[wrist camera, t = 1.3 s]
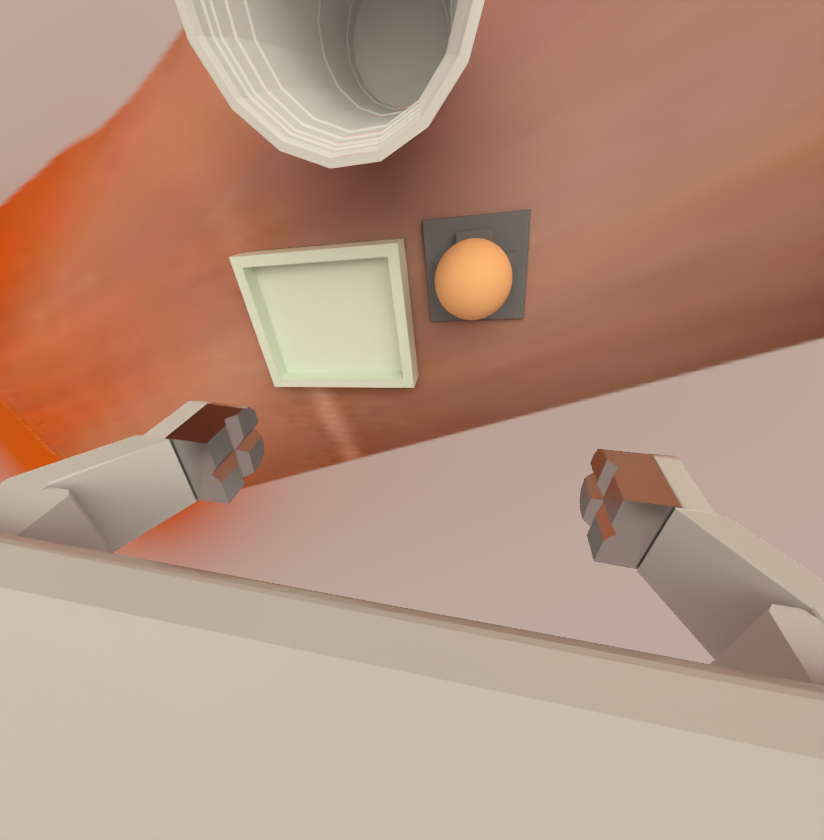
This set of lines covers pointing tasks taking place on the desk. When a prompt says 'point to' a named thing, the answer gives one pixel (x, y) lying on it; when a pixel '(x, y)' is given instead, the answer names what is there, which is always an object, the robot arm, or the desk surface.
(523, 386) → the desk surface
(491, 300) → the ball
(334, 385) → the tray
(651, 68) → the desk surface
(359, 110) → the plastic cup
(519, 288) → the coaster
